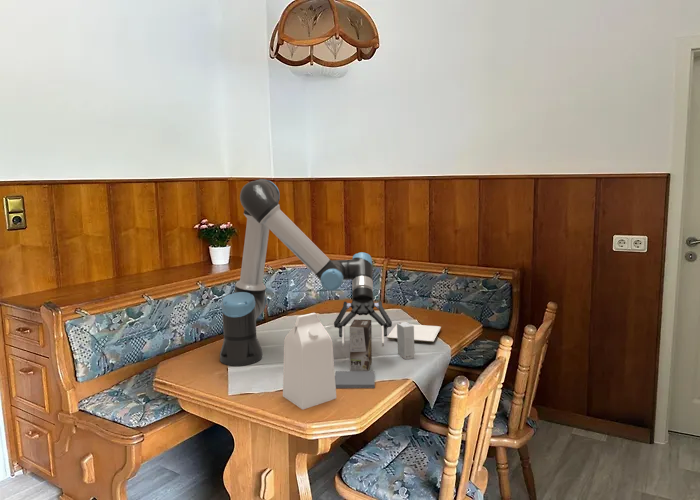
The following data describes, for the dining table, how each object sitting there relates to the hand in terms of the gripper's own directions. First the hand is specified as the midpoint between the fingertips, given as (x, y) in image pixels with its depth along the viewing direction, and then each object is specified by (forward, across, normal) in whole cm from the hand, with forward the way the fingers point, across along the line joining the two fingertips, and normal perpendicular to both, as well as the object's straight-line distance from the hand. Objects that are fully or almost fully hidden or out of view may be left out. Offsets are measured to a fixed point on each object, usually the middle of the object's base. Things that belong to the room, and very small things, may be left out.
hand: (363, 344), depth 187 cm
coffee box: (+6, +1, -6) cm, 9 cm away
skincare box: (-2, -15, -14) cm, 21 cm away
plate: (-18, -20, -31) cm, 41 cm away
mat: (+14, +3, +2) cm, 14 cm away
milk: (+22, +16, +10) cm, 29 cm away
